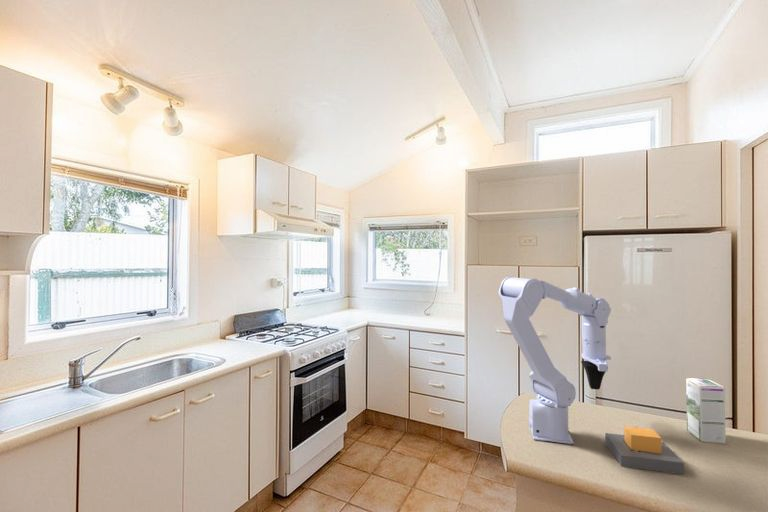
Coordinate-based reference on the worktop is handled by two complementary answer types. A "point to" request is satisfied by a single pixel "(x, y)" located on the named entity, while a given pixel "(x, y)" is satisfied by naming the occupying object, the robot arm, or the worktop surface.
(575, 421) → the worktop surface
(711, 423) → the syrup box
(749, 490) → the worktop surface
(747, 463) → the worktop surface
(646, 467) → the socket
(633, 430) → the plug
